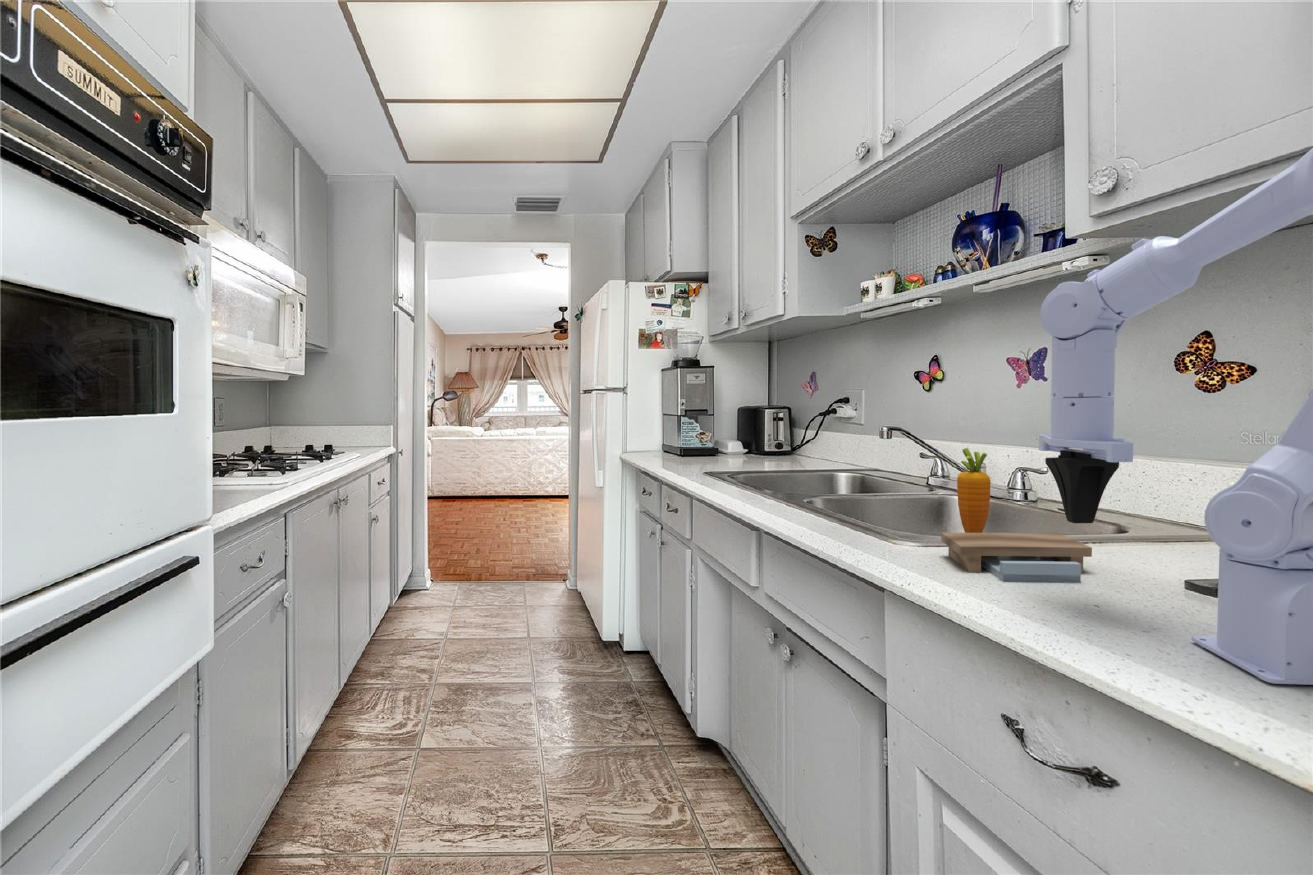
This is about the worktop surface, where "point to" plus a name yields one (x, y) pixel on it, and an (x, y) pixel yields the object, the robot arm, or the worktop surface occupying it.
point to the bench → (1012, 547)
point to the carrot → (973, 494)
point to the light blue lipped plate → (1031, 569)
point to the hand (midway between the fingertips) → (1080, 522)
